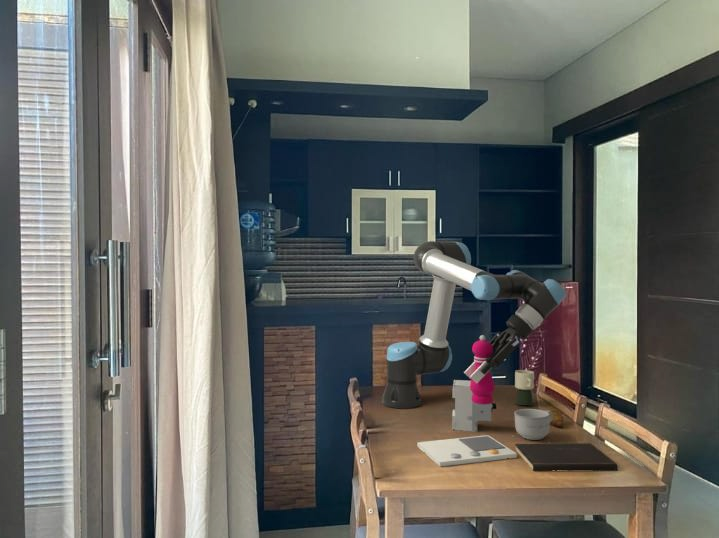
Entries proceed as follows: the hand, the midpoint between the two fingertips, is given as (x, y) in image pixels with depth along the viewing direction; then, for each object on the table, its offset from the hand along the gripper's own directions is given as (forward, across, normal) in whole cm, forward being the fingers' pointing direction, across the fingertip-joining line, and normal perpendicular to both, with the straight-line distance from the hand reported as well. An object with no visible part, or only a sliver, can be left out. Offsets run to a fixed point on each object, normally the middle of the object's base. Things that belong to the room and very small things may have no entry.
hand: (470, 377), depth 159 cm
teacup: (-2, +8, -33) cm, 34 cm away
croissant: (-11, +22, -41) cm, 48 cm away
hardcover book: (-1, -11, -33) cm, 34 cm away
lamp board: (+17, -2, -14) cm, 22 cm away
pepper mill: (+3, 0, -8) cm, 8 cm away
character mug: (-10, +43, -40) cm, 60 cm away
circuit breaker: (+10, +19, -20) cm, 29 cm away
